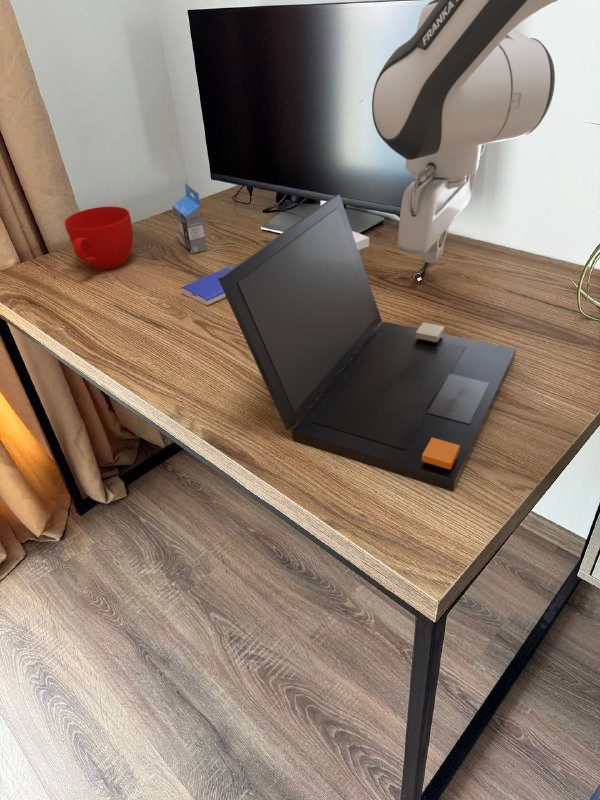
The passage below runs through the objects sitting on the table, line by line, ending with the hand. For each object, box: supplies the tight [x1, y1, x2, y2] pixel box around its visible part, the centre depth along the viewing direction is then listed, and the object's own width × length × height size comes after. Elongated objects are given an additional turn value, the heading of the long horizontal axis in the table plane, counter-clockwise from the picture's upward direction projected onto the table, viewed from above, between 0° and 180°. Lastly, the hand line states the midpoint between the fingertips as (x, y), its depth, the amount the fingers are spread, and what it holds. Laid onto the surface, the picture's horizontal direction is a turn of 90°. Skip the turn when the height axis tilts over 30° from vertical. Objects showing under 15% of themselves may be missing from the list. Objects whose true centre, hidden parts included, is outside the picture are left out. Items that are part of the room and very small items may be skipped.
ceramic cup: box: [64, 205, 134, 270], centre depth 121 cm, size 13×17×10 cm
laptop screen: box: [218, 193, 383, 431], centre depth 80 cm, size 21×30×1 cm
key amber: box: [422, 438, 460, 470], centre depth 68 cm, size 3×3×1 cm
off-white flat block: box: [415, 321, 445, 342], centre depth 89 cm, size 3×3×1 cm
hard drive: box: [180, 264, 236, 306], centre depth 112 cm, size 2×8×12 cm
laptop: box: [291, 321, 517, 492], centre depth 81 cm, size 21×30×2 cm
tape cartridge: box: [172, 183, 208, 255], centre depth 126 cm, size 9×4×12 cm, turn 28°
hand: (432, 259), depth 80 cm, fingers closed
